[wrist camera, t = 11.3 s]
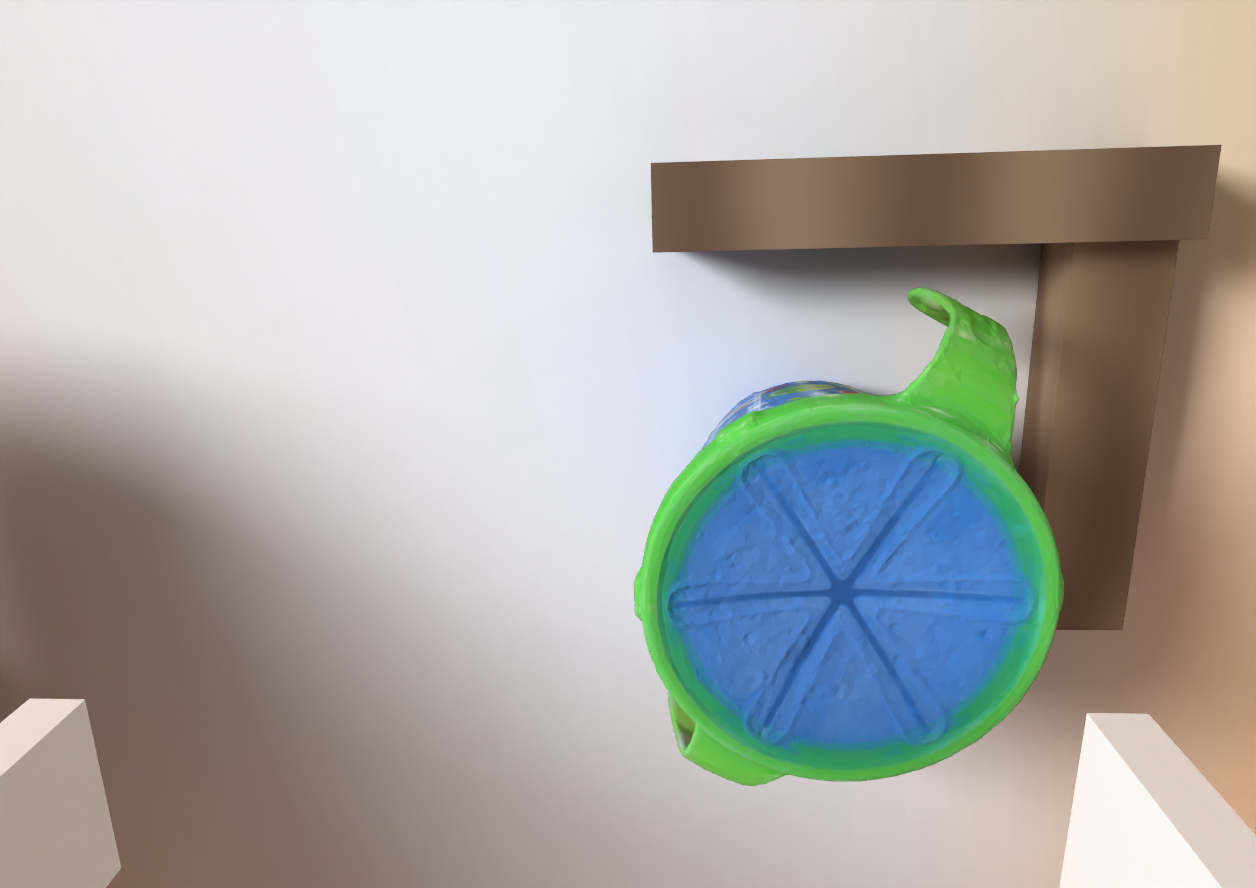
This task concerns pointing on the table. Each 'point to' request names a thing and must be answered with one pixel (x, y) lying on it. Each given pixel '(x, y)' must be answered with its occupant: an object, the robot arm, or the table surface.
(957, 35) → the table surface
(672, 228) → the bracket
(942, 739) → the snack cup
